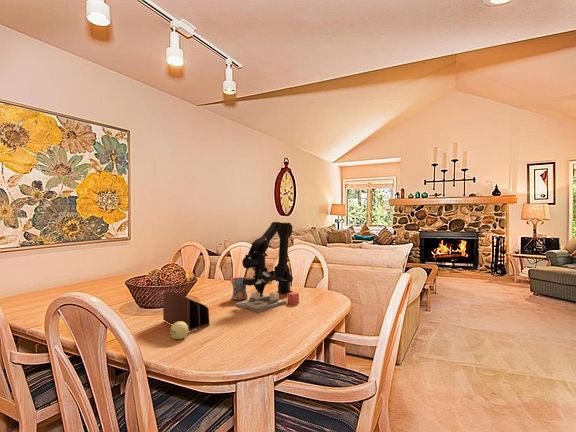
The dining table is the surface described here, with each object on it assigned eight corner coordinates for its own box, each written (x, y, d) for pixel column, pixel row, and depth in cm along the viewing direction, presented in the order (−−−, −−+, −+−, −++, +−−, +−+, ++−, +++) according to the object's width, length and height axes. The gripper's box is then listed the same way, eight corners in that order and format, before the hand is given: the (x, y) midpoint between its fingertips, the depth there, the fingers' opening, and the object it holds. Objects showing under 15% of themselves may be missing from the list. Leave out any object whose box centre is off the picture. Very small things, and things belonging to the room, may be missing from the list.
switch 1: (255, 298, 173) (255, 291, 173) (260, 299, 171) (259, 292, 171) (251, 299, 171) (250, 292, 171) (255, 301, 169) (255, 293, 169)
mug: (244, 301, 173) (243, 281, 173) (227, 300, 176) (227, 280, 176) (253, 295, 185) (252, 276, 185) (237, 295, 188) (237, 276, 187)
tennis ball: (167, 320, 125) (176, 324, 120) (184, 318, 130) (193, 322, 125) (166, 338, 124) (174, 342, 120) (182, 335, 129) (191, 340, 124)
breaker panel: (264, 297, 180) (264, 292, 180) (286, 303, 168) (286, 297, 168) (235, 305, 166) (235, 299, 166) (257, 312, 155) (257, 306, 155)
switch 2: (273, 299, 172) (273, 292, 172) (278, 300, 169) (278, 293, 169) (269, 300, 169) (269, 293, 169) (274, 301, 167) (274, 294, 167)
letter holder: (188, 333, 130) (187, 297, 130) (162, 322, 143) (161, 290, 143) (210, 326, 138) (209, 292, 137) (183, 317, 151) (182, 285, 151)
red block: (293, 301, 171) (292, 291, 171) (298, 303, 168) (298, 293, 168) (287, 303, 168) (287, 293, 168) (293, 304, 165) (293, 294, 165)
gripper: (255, 270, 161) (256, 302, 161) (283, 264, 174) (284, 294, 174) (241, 267, 168) (242, 298, 169) (269, 262, 182) (270, 291, 182)
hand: (260, 296), depth 173 cm, fingers closed
